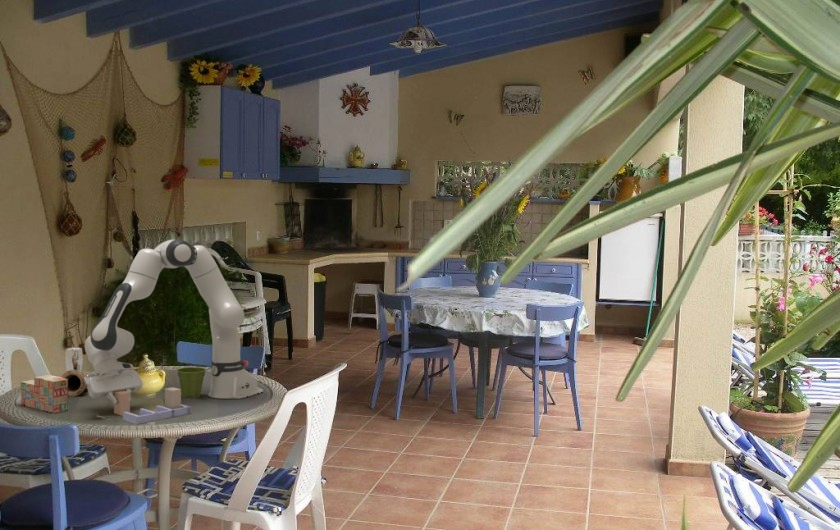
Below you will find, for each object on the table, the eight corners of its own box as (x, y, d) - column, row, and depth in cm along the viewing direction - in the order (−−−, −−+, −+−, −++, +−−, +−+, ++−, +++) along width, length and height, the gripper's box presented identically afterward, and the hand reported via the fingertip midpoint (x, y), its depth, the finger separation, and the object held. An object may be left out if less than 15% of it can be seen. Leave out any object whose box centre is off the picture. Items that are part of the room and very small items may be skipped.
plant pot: (196, 401, 353) (195, 373, 352) (170, 399, 357) (170, 371, 356) (212, 395, 364) (212, 368, 363) (187, 393, 368) (187, 366, 367)
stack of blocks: (20, 405, 343) (20, 373, 342) (35, 402, 348) (35, 371, 347) (53, 413, 331) (52, 381, 330) (68, 410, 336) (68, 378, 335)
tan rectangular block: (122, 414, 331) (122, 390, 331) (130, 416, 328) (129, 392, 327) (114, 415, 329) (113, 391, 328) (121, 418, 325) (121, 393, 325)
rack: (175, 411, 337) (175, 402, 336) (190, 415, 330) (190, 406, 330) (122, 421, 320) (122, 412, 320) (137, 426, 314) (137, 417, 313)
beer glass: (69, 381, 387) (69, 347, 386) (85, 381, 387) (85, 347, 385) (62, 385, 380) (62, 350, 379) (79, 385, 380) (78, 350, 378)
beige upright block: (173, 411, 333) (173, 387, 332) (181, 413, 330) (180, 389, 329) (165, 412, 330) (164, 388, 330) (172, 415, 327) (172, 390, 326)
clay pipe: (56, 401, 366) (61, 397, 353) (53, 375, 368) (58, 370, 355) (104, 395, 375) (110, 391, 363) (101, 370, 377) (107, 365, 365)
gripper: (85, 370, 324) (99, 401, 318) (136, 363, 339) (150, 392, 333) (79, 381, 327) (93, 412, 321) (129, 373, 342) (144, 402, 337)
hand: (122, 402), depth 328 cm, fingers closed on tan rectangular block, 3 cm apart
